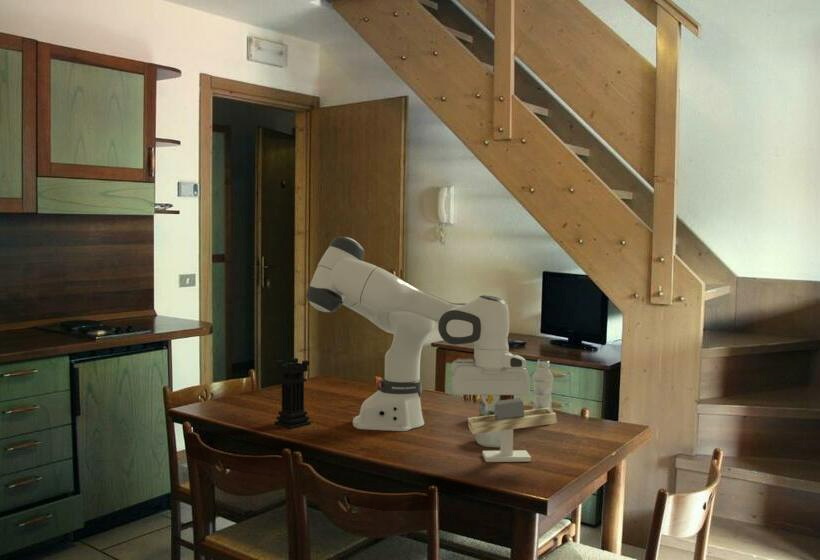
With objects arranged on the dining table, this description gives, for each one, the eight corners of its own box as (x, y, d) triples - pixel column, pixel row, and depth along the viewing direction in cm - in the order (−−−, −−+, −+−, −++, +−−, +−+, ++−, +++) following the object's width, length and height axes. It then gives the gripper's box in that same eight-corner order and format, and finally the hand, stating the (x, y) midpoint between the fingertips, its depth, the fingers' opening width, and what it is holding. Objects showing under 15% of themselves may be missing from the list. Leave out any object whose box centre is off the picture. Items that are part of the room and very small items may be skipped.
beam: (472, 434, 192) (471, 424, 192) (468, 426, 199) (467, 416, 199) (556, 423, 193) (555, 412, 193) (549, 415, 201) (548, 406, 200)
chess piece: (274, 424, 234) (274, 360, 232) (294, 419, 240) (295, 357, 238) (290, 429, 228) (290, 364, 227) (311, 424, 234) (311, 361, 233)
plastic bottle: (552, 425, 236) (554, 362, 235) (531, 424, 237) (532, 361, 236) (553, 420, 242) (554, 359, 241) (531, 419, 244) (533, 358, 242)
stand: (486, 461, 199) (487, 413, 198) (482, 455, 205) (483, 408, 204) (530, 461, 200) (532, 413, 199) (525, 454, 206) (526, 407, 205)
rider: (498, 424, 193) (496, 405, 193) (495, 420, 197) (493, 401, 197) (524, 420, 194) (522, 401, 193) (521, 416, 198) (519, 398, 197)
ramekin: (520, 445, 215) (520, 427, 214) (489, 451, 209) (490, 432, 208) (495, 436, 224) (495, 418, 224) (465, 441, 218) (465, 423, 218)
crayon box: (478, 418, 244) (479, 383, 244) (487, 417, 245) (487, 382, 245) (488, 423, 238) (489, 387, 237) (497, 423, 239) (497, 387, 238)
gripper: (452, 360, 190) (451, 414, 191) (532, 361, 191) (530, 414, 192) (449, 356, 196) (448, 408, 197) (527, 357, 198) (525, 408, 198)
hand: (489, 411), depth 195 cm, fingers closed
